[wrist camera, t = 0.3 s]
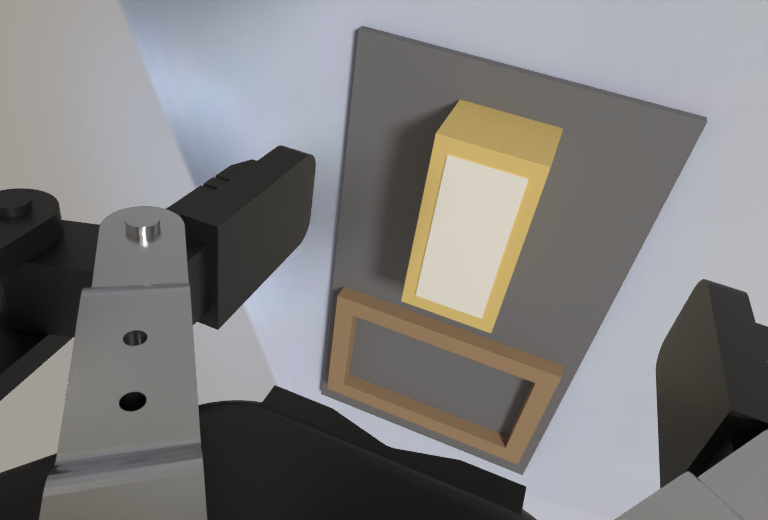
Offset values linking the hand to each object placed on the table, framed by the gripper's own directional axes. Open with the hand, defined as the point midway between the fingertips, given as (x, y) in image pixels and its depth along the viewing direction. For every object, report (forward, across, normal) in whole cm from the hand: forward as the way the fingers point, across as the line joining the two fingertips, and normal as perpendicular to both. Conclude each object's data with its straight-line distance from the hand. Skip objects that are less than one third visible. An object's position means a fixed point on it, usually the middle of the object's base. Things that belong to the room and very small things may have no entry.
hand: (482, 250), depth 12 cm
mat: (+19, +2, +15) cm, 24 cm away
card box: (+18, +2, +8) cm, 19 cm away
